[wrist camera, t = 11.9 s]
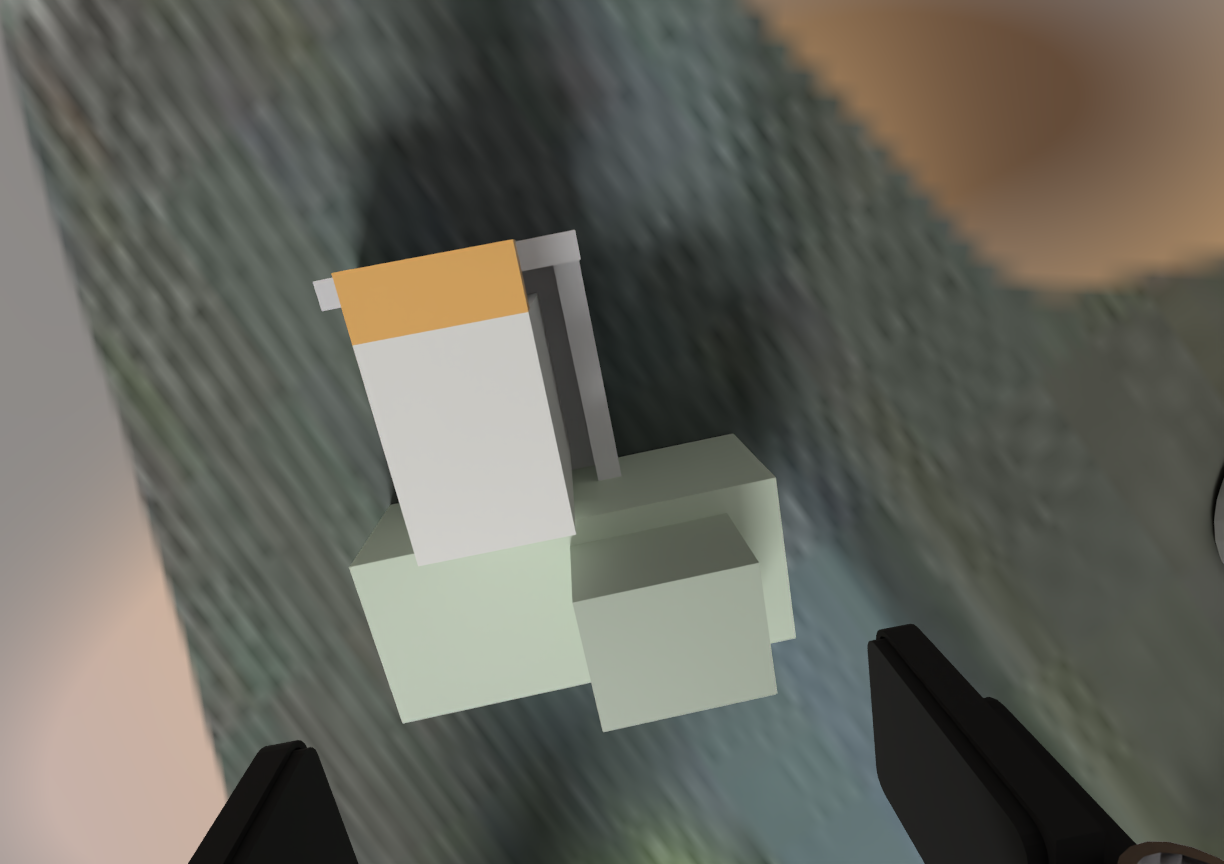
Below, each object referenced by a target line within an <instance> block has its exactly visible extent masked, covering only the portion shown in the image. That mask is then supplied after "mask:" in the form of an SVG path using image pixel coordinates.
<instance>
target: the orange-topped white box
mask: <svg viewBox="0 0 1224 864" xmlns="http://www.w3.org/2000/svg"><path fill="white" fill-rule="evenodd" d="M331 274H332V278H333V281H334V284H335V288H336V291H337V294H338V298H339V301H340V305H341V308H342V311H343V315H344V318H345V321H346V325H347V328H348V332H349V335H350V338H351V342H352V345H353V348H354V352H355V355H356V359H357V362H358V365H359V369H360V372H361V375H362V379H363V382H364V385H365V389H366V392H367V396H368V399H369V402H370V406H371V409H372V412H373V416H374V419H375V423H376V426H377V429H378V433H379V436H380V439H381V443H382V446H383V450H384V453H385V456H386V460H387V463H388V466H389V470H390V473H391V477H392V480H393V483H394V487H395V490H396V493H397V497H398V500H399V504H400V507H401V510H402V514H403V517H404V520H405V524H406V527H407V530H408V534H409V537H410V541H411V544H412V547H413V551H414V554H415V557H416V561H417V564H418V566H423V565H428V564H433V563H438V562H443V561H448V560H453V559H458V558H463V557H468V556H473V555H477V554H482V553H487V552H492V551H497V550H502V549H507V548H512V547H517V546H522V545H527V544H532V543H537V542H542V541H547V540H552V539H557V538H562V537H567V536H572V535H576V524H575V509H574V494H573V480H572V465H571V450H570V445H569V440H568V435H567V430H566V426H565V421H564V416H563V411H562V406H561V402H560V397H559V392H558V387H557V383H556V378H555V373H554V368H553V363H552V359H551V354H550V349H549V344H548V339H547V335H546V330H545V325H544V320H543V316H542V311H541V306H540V301H539V296H538V292H536V293H531V294H527V293H526V289H525V284H524V279H523V275H522V270H521V265H520V261H519V256H518V251H517V247H516V242H515V240H514V239H511V240H506V241H500V242H495V243H490V244H484V245H479V246H474V247H468V248H463V249H458V250H452V251H447V252H442V253H436V254H431V255H426V256H420V257H415V258H410V259H404V260H399V261H394V262H388V263H383V264H378V265H372V266H367V267H361V268H356V269H351V270H345V271H340V272H335V273H331Z"/></svg>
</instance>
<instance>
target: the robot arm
mask: <svg viewBox="0 0 1224 864" xmlns="http://www.w3.org/2000/svg"><path fill="white" fill-rule="evenodd" d="M1214 528H1215V542H1216V545H1217V548H1218V552H1219V555H1220V558H1221V561H1222V562H1223V564H1224V479H1223V482H1222V485H1221V488H1220V491H1219V494H1218V497H1217V502H1216V509H1215V517H1214ZM868 661H869V674H870V688H871V701H872V715H873V728H874V742H875V755H876V768H877V774H878V778H879V781H880V784H881V787H882V789H883V791H884V793H885V795H886V797H887V799H888V801H889V802H890V804H891V806H892V807H893V809H894V811H895V813H896V814H897V816H898V818H899V820H900V821H901V823H902V825H903V827H904V828H905V830H906V832H907V833H908V835H909V837H910V839H911V840H912V842H913V844H914V846H915V847H916V849H917V851H918V853H919V854H920V856H921V858H922V859H923V861H924V863H925V864H1224V861H1223V860H1221V859H1220V858H1218V857H1215V856H1213V855H1210V854H1208V853H1205V852H1203V851H1201V850H1198V849H1196V848H1193V847H1189V846H1185V845H1180V844H1176V843H1172V842H1144V843H1140V844H1136V843H1135V842H1134V841H1133V840H1132V839H1131V838H1130V837H1129V836H1128V835H1127V834H1126V833H1125V832H1124V831H1123V830H1122V829H1121V828H1120V827H1119V826H1118V825H1117V824H1116V822H1115V821H1114V820H1113V819H1112V818H1111V817H1110V816H1109V815H1108V814H1107V813H1106V812H1105V811H1104V810H1103V809H1102V808H1101V807H1100V806H1099V805H1098V804H1097V803H1096V801H1095V800H1094V799H1093V798H1092V797H1091V796H1090V795H1089V794H1088V793H1087V792H1086V791H1085V790H1084V789H1083V788H1082V787H1081V786H1080V785H1079V784H1078V783H1077V782H1076V781H1075V779H1074V778H1073V777H1072V776H1071V775H1070V774H1069V773H1068V772H1067V771H1066V770H1065V769H1064V768H1063V767H1062V766H1061V765H1060V764H1059V763H1058V762H1057V761H1056V760H1055V758H1054V757H1053V756H1052V755H1051V754H1050V753H1049V752H1048V751H1047V750H1046V749H1045V748H1044V747H1043V746H1042V745H1041V744H1040V743H1039V742H1038V741H1037V740H1036V739H1035V738H1034V736H1033V735H1032V734H1031V733H1030V732H1029V731H1028V730H1027V729H1026V728H1025V727H1024V726H1023V725H1022V724H1021V723H1020V722H1019V721H1018V720H1017V719H1016V718H1015V717H1014V715H1013V714H1012V713H1011V712H1010V711H1009V710H1008V709H1007V708H1006V707H1005V706H1004V705H1003V704H1001V703H1000V702H999V701H998V700H996V699H994V698H991V697H987V698H982V696H981V695H980V694H979V693H978V692H977V691H976V690H975V689H974V688H973V687H972V686H971V685H970V683H969V682H968V681H967V680H966V679H965V678H964V677H963V676H962V675H961V674H960V673H959V672H958V670H957V669H956V668H955V667H954V666H953V665H952V664H951V663H950V662H949V661H948V660H947V659H946V657H945V656H944V655H943V654H942V653H941V652H940V651H939V650H938V649H937V648H936V647H935V646H934V644H933V643H932V642H931V641H930V640H929V639H928V638H927V637H926V636H925V635H924V634H923V633H922V631H921V630H920V629H919V628H918V627H917V626H915V625H914V624H907V625H902V626H897V627H891V628H886V629H881V630H879V631H878V632H877V635H876V640H872V641H869V642H868ZM188 864H358V861H357V859H356V856H355V853H354V851H353V848H352V845H351V843H350V840H349V837H348V834H347V832H346V829H345V826H344V824H343V821H342V818H341V816H340V813H339V810H338V807H337V805H336V802H335V799H334V797H333V794H332V791H331V789H330V786H329V783H328V780H327V778H326V775H325V772H324V770H323V767H322V764H321V762H320V759H319V756H318V754H317V752H316V750H315V749H314V748H311V747H309V748H307V747H306V745H305V743H303V742H302V741H299V740H296V741H291V742H286V743H281V744H275V745H270V746H265V747H264V748H262V749H261V750H260V751H259V752H258V753H257V755H256V756H255V758H254V759H253V761H252V763H251V764H250V766H249V767H248V769H247V771H246V772H245V774H244V775H243V777H242V778H241V780H240V782H239V783H238V785H237V786H236V788H235V790H234V791H233V793H232V794H231V796H230V798H229V799H228V801H227V802H226V804H225V806H224V807H223V809H222V810H221V812H220V814H219V815H218V817H217V818H216V820H215V821H214V823H213V825H212V826H211V828H210V829H209V831H208V833H207V834H206V836H205V837H204V839H203V841H202V842H201V844H200V846H199V847H198V849H197V850H196V852H195V853H194V855H193V857H192V858H191V860H190V861H189V863H188Z"/></svg>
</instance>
